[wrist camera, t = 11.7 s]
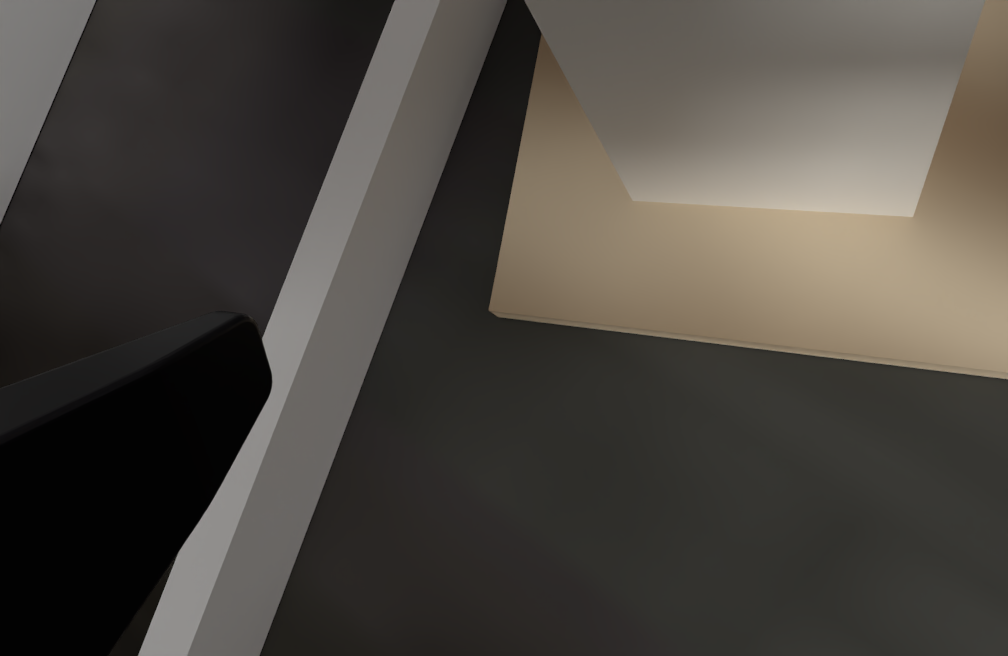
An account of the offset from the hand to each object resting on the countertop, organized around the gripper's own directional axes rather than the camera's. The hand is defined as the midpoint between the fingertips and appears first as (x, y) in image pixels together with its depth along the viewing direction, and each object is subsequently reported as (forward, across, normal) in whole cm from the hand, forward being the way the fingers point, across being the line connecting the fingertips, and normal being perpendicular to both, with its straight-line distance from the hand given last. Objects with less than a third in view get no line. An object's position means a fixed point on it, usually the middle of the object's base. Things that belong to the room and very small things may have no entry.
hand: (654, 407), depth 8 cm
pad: (+11, 0, +1) cm, 11 cm away
